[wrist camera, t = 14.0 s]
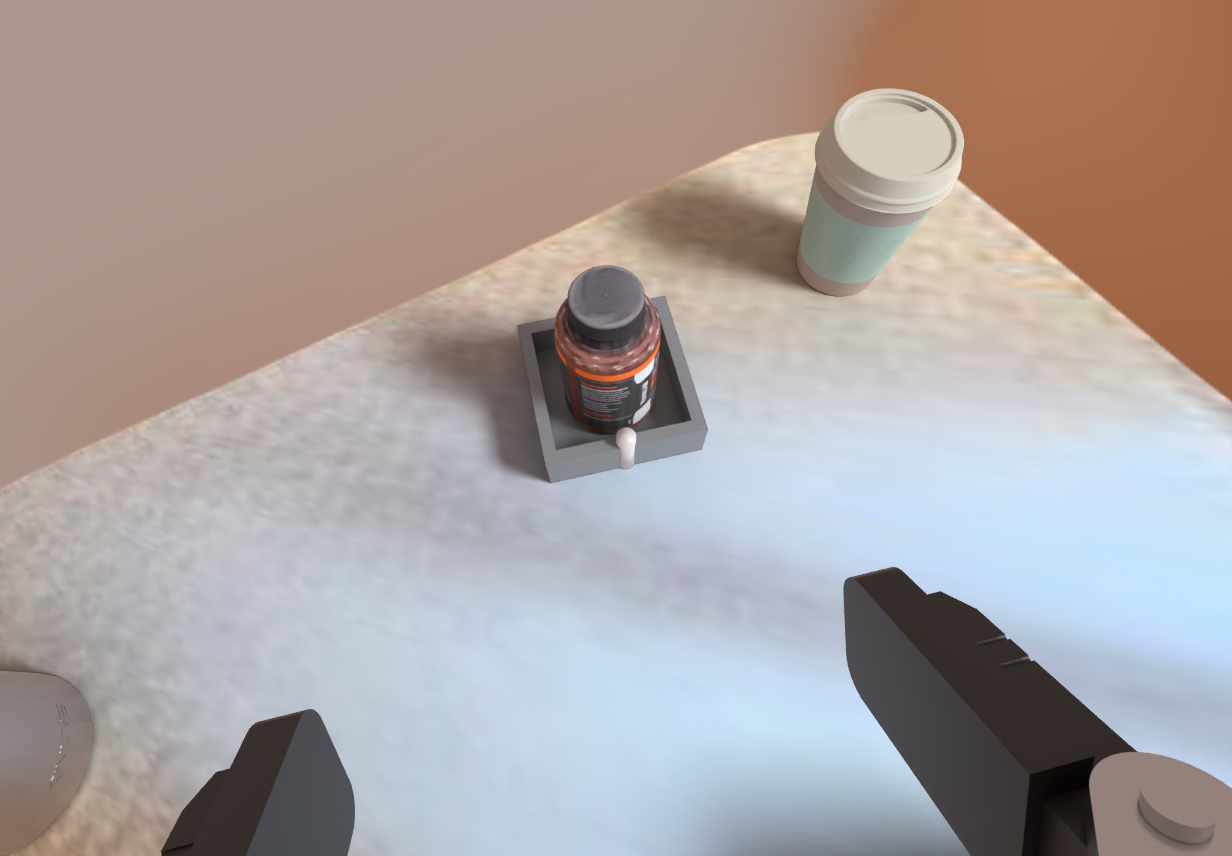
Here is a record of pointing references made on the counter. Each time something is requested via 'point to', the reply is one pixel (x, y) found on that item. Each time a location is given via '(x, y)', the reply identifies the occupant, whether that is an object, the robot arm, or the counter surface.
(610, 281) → the supplement bottle
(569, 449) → the tray
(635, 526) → the counter surface
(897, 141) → the coffee cup
